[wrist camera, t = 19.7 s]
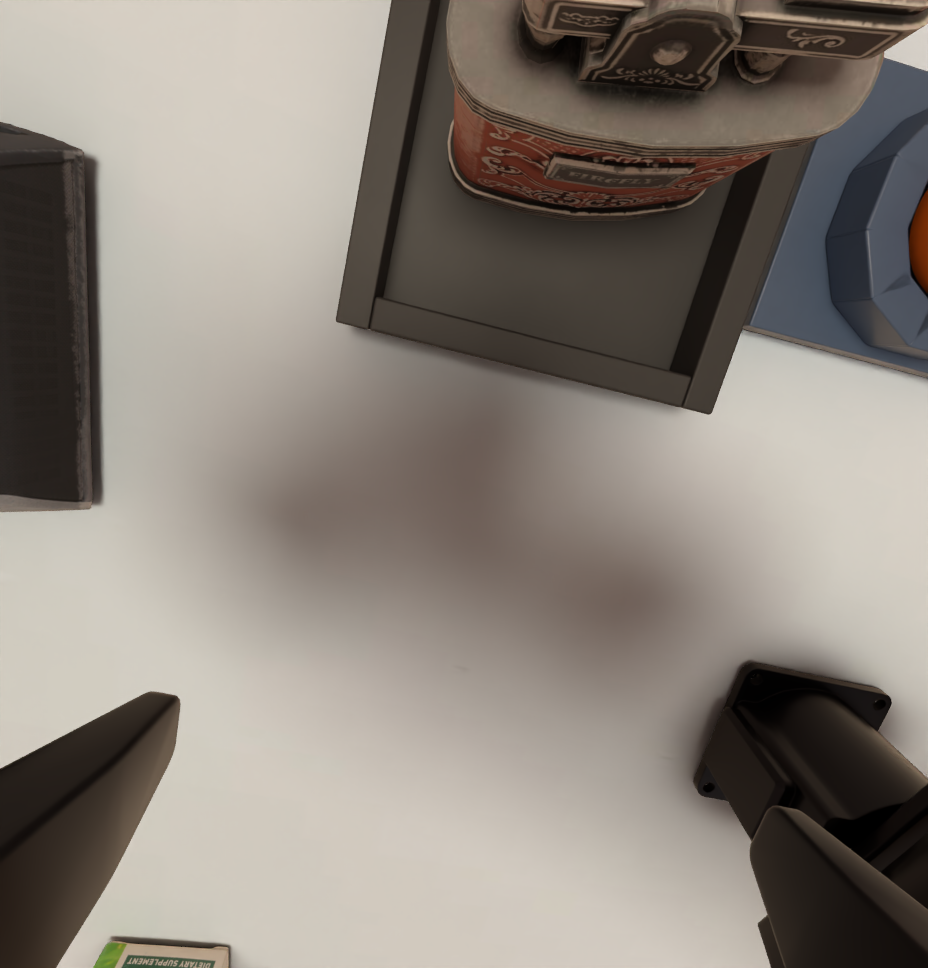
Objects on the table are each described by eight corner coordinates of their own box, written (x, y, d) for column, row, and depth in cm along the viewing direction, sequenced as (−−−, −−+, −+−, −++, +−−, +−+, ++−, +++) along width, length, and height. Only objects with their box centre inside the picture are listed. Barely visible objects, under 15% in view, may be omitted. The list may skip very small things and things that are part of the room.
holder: (826, -19, 17) (891, -78, 14) (680, 404, 20) (711, 415, 17) (435, -148, 15) (432, -236, 13) (349, 322, 19) (335, 321, 16)
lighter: (444, 211, 17) (438, 66, 8) (450, 87, 17) (452, -246, 7) (694, 230, 18) (981, 113, 8) (714, 109, 17) (1062, -180, 7)
